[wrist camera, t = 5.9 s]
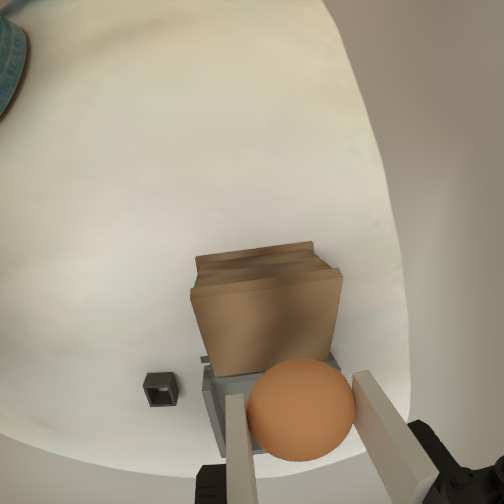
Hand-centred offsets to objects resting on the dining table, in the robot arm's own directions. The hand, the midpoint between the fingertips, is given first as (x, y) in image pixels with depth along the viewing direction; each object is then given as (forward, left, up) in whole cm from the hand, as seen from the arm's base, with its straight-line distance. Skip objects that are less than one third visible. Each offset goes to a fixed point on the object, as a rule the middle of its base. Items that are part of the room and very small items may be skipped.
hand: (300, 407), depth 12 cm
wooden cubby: (0, -1, -18) cm, 18 cm away
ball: (0, 0, 0) cm, 0 cm away
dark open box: (-12, -10, -18) cm, 24 cm away
